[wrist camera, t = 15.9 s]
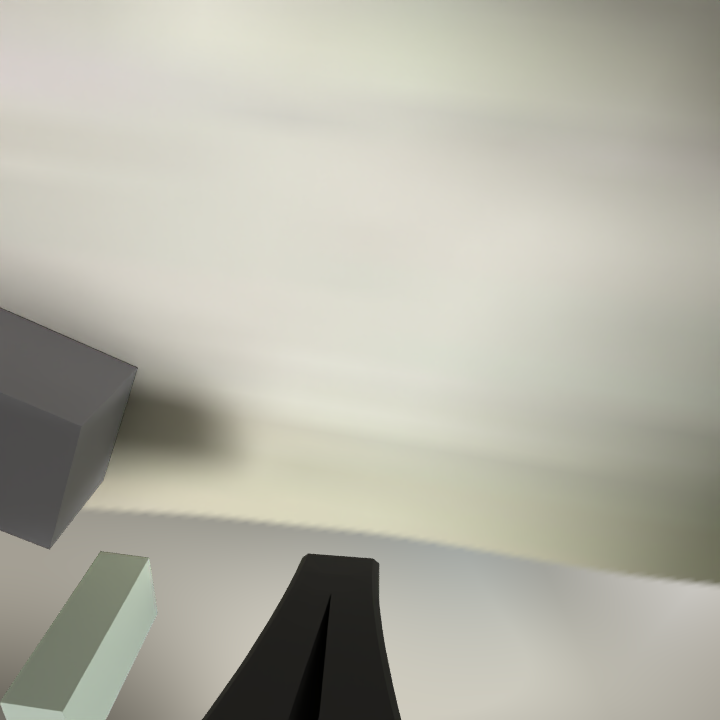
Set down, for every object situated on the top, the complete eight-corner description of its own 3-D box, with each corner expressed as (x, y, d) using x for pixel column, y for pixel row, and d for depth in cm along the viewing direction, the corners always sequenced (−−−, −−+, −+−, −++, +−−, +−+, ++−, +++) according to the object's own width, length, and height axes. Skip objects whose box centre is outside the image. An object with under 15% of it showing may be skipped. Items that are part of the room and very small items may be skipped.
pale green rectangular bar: (-15, -510, 7) (-542, -1208, 3) (157, 613, 18) (81, 770, 14) (-123, -514, 7) (-764, -1197, 3) (112, 607, 18) (23, 761, 14)
